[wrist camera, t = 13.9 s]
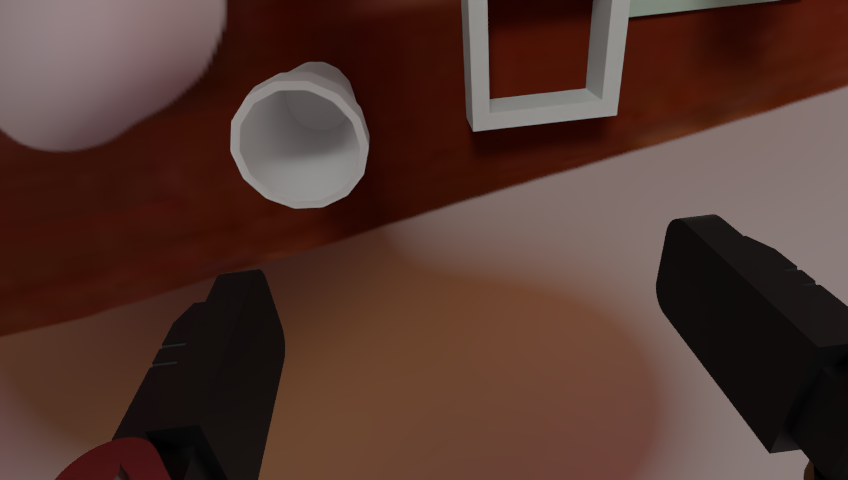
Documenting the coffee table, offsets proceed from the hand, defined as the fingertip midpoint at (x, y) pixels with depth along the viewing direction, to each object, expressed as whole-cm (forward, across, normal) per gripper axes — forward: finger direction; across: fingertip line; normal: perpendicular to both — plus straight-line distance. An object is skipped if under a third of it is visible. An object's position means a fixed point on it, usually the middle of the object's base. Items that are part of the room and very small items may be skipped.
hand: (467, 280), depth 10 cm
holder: (+38, -12, +3) cm, 40 cm away
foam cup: (+38, +8, +6) cm, 40 cm away
